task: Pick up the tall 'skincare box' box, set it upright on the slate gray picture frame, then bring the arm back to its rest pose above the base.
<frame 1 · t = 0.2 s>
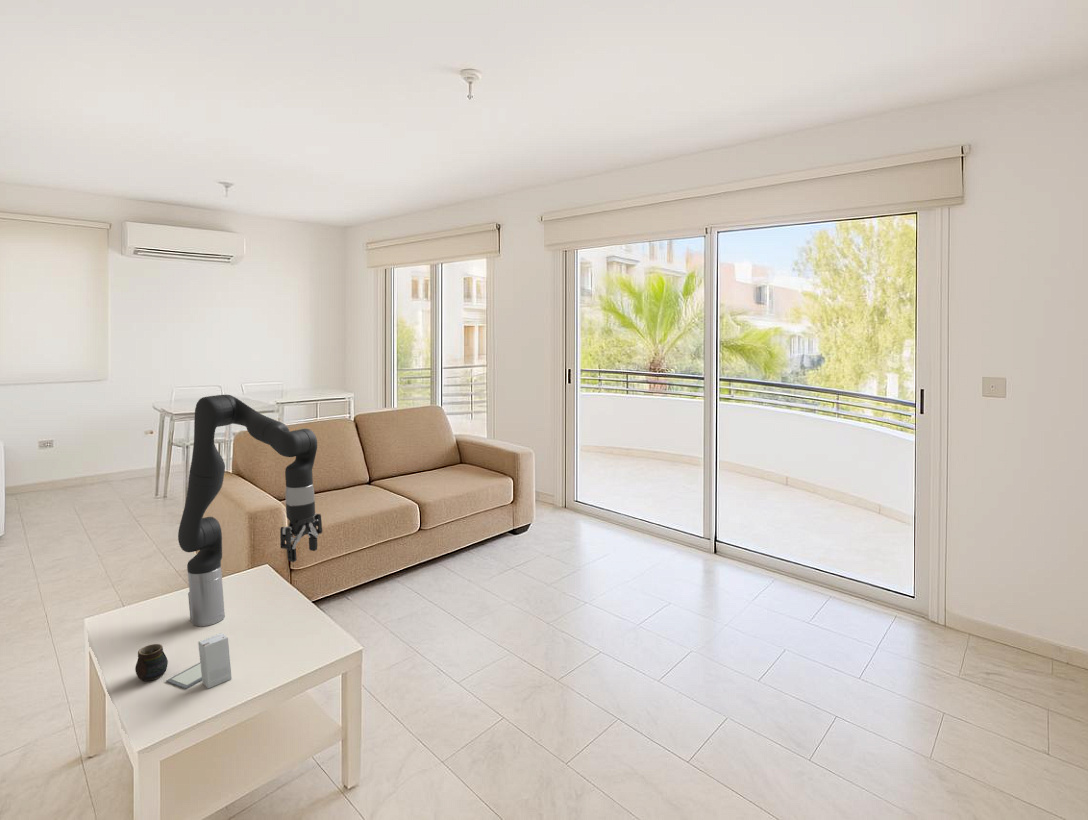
hand: (303, 555, 169), 29 cm above the table, fingers open, 8 cm apart
skincare box: (216, 682, 158), on the table
slate gray picture frame: (194, 675, 160), on the table
mate gourd: (153, 677, 160), on the table
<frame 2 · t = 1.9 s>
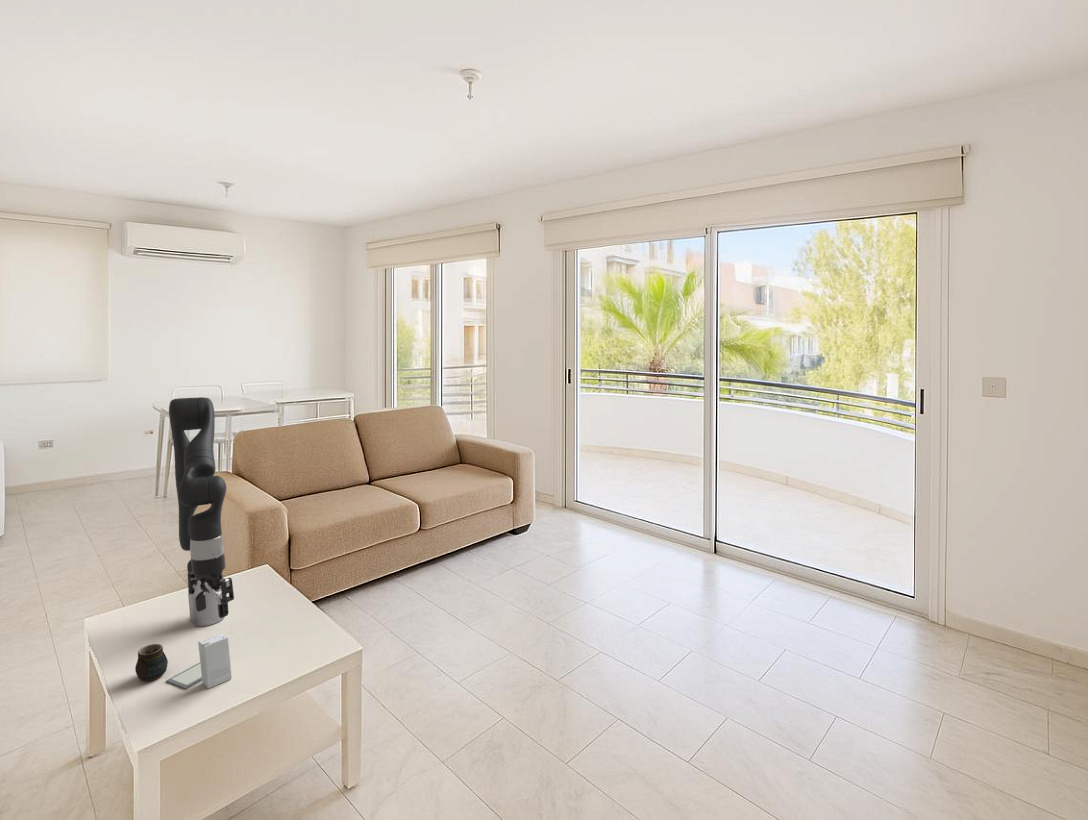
hand: (212, 613, 155), 19 cm above the table, fingers open, 8 cm apart
nothing on the table moved.
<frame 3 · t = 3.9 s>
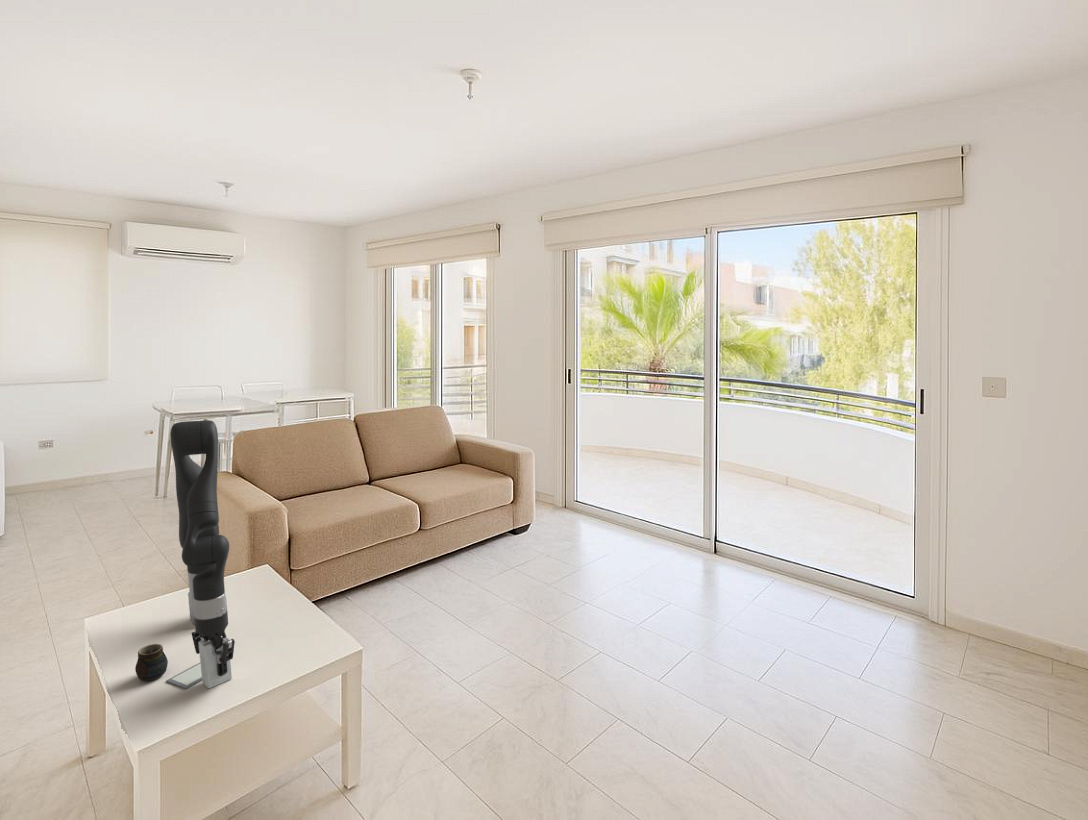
hand: (215, 671, 157), 3 cm above the table, fingers closed on skincare box, 5 cm apart
skincare box: (217, 682, 157), on the table, touching gripper
everything else where it was.
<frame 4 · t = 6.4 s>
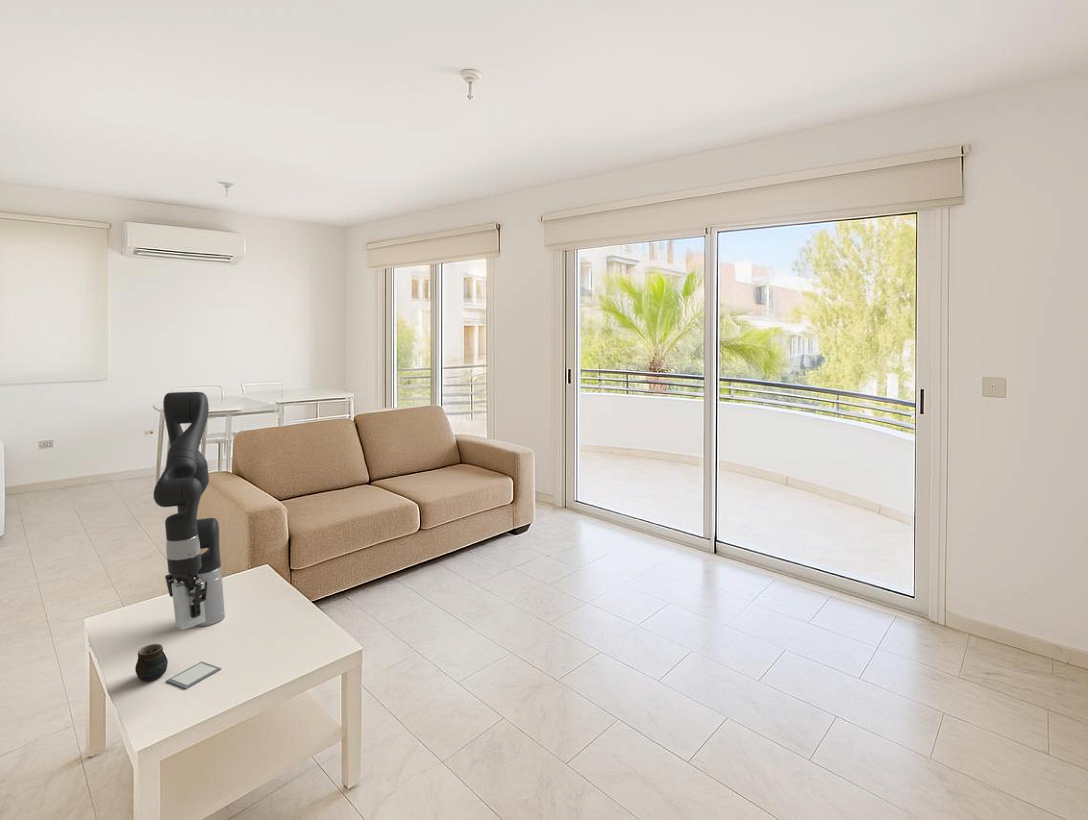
hand: (189, 614, 158), 17 cm above the table, fingers closed on skincare box, 5 cm apart
skincare box: (190, 625, 159), point 14 cm above the table, touching gripper
everything else where it was.
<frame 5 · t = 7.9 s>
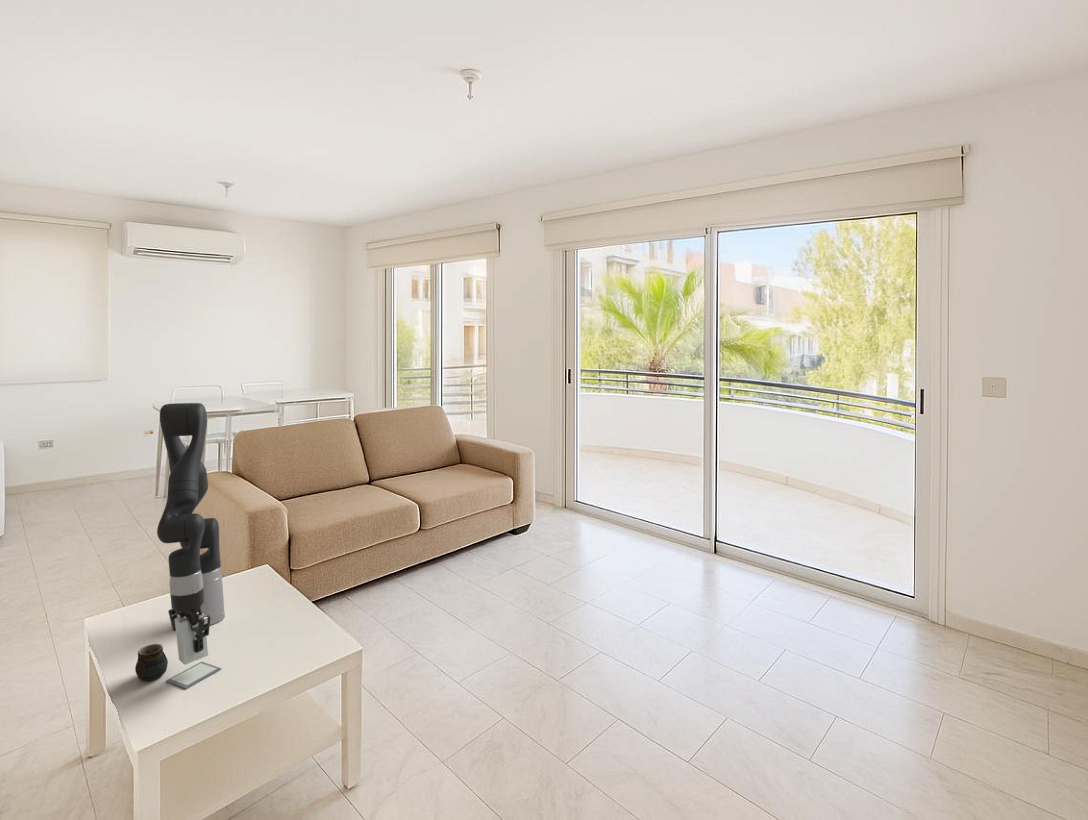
hand: (192, 648, 159), 8 cm above the table, fingers closed on skincare box, 5 cm apart
skincare box: (193, 659, 160), point 5 cm above the table, touching gripper
everything else where it was.
when the fingers open (5 cm above the table, at t = 9.0 s): skincare box drops 1 cm, resting on slate gray picture frame.
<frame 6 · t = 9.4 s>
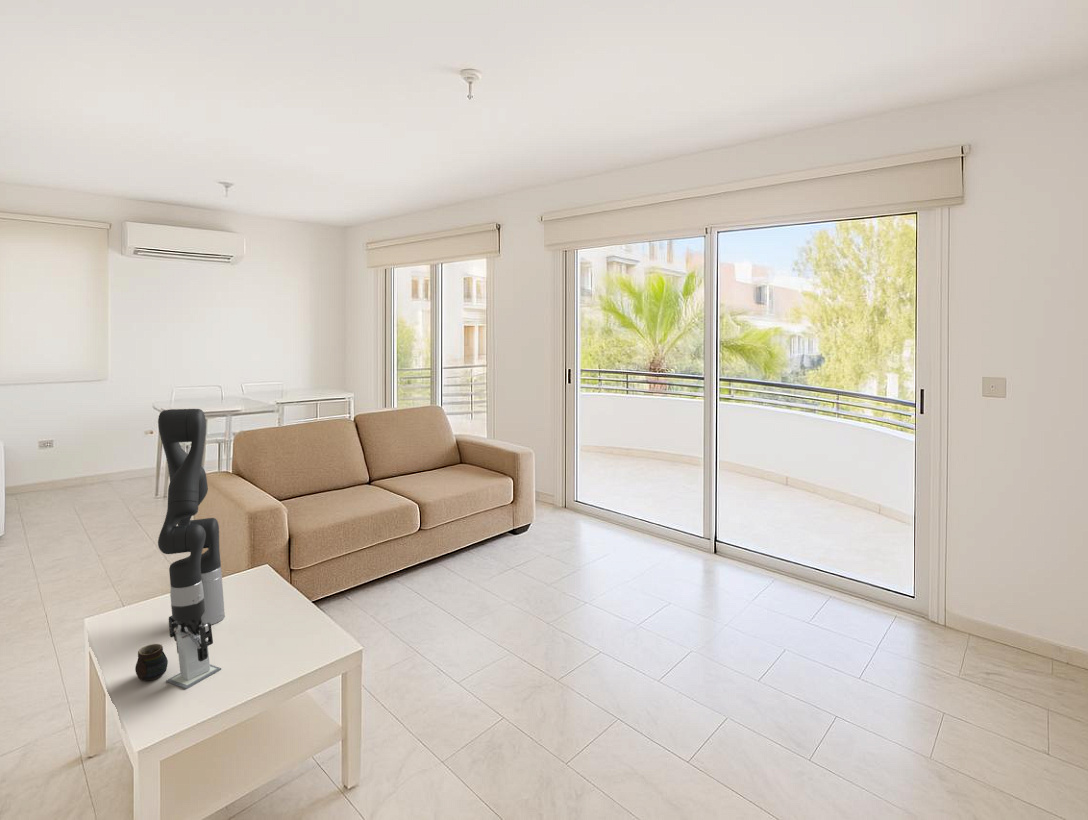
hand: (192, 656, 160), 6 cm above the table, fingers open, 8 cm apart
skincare box: (195, 674, 160), resting on slate gray picture frame
everything else where it was.
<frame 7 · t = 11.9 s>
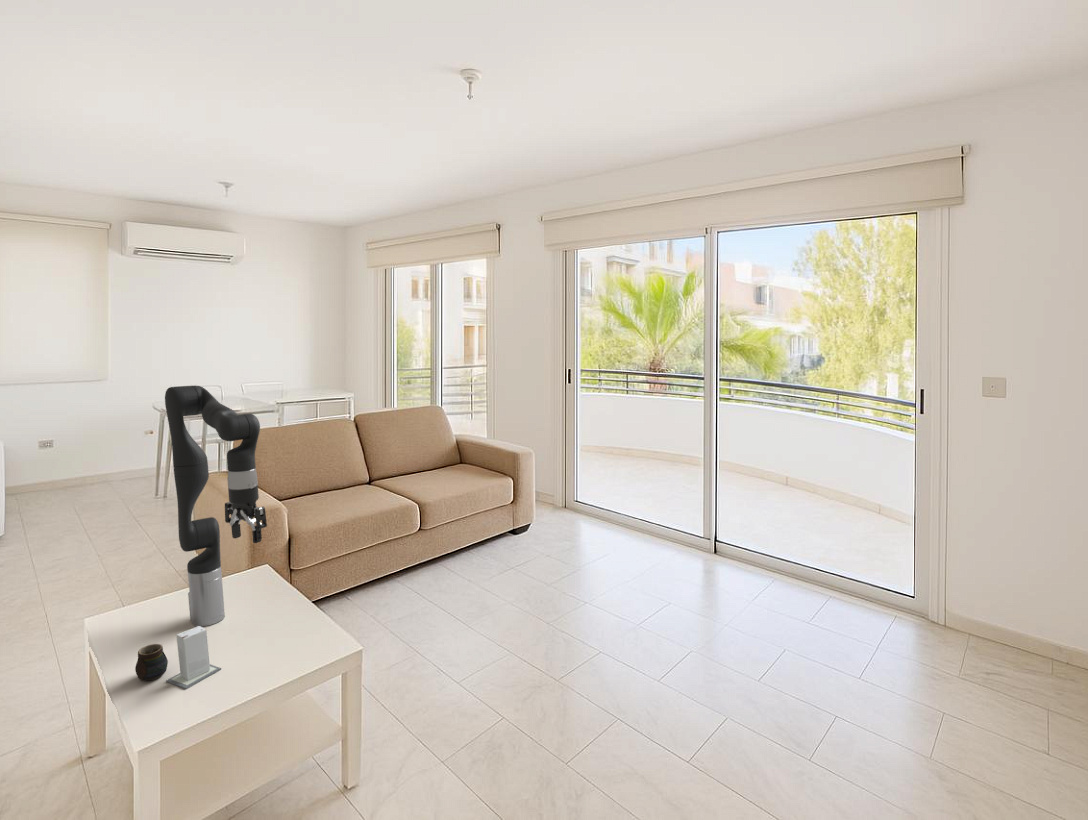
hand: (246, 539, 170), 33 cm above the table, fingers open, 8 cm apart
nothing on the table moved.
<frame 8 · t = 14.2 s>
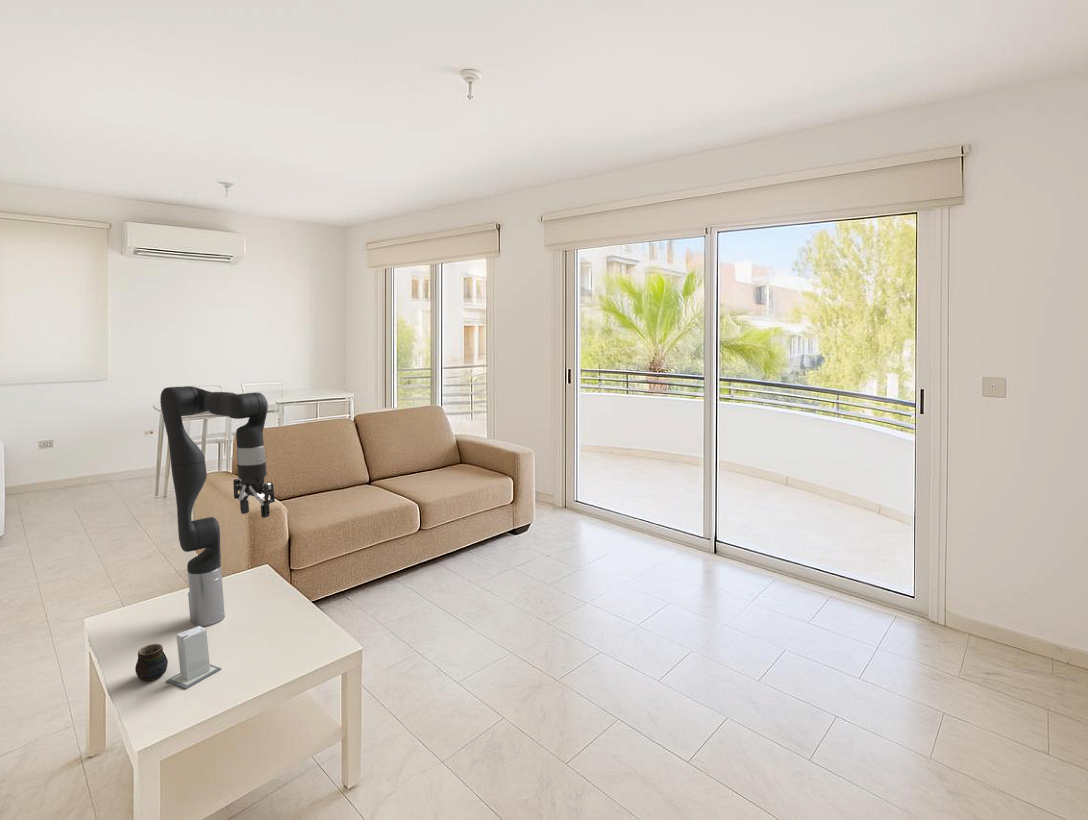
hand: (255, 515, 176), 38 cm above the table, fingers open, 8 cm apart
nothing on the table moved.
at the end: skincare box 0.3 cm from the slate gray picture frame (horizontally); skincare box tilted 0°; the gripper is holding nothing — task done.
